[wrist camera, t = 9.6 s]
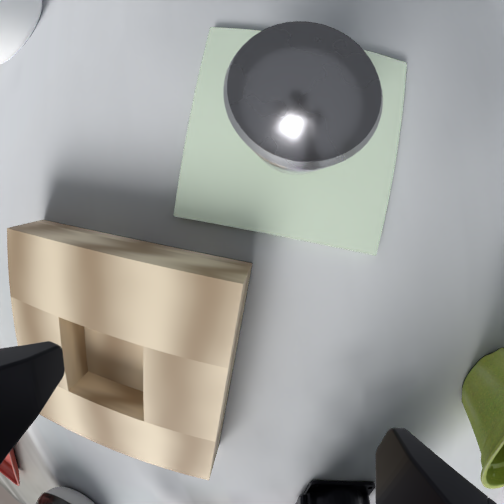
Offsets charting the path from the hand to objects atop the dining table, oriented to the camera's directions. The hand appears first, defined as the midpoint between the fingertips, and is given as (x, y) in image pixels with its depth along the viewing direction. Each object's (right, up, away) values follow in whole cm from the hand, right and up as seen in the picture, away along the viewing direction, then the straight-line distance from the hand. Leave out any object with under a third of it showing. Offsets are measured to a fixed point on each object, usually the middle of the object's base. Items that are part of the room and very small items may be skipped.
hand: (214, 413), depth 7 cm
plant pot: (+20, -6, +12) cm, 25 cm away
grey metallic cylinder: (+3, +11, +9) cm, 15 cm away
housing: (-8, -3, +14) cm, 17 cm away
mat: (+3, +11, +10) cm, 15 cm away
